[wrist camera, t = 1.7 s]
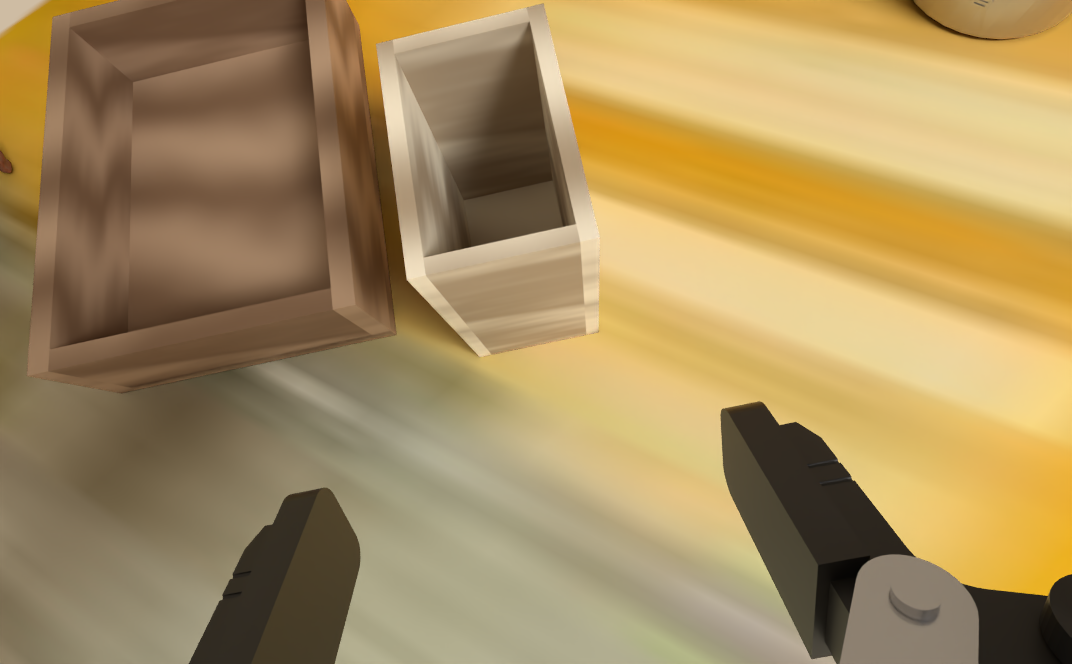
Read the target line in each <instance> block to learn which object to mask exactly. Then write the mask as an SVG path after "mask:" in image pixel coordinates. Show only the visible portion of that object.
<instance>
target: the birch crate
mask: <svg viewBox="0 0 1072 664" xmlns="http://www.w3.org/2000/svg"><path fill="white" fill-rule="evenodd" d="M376 47H377V55H378V63H379V70H380V78H381V86H382V93H383V101H384V109H385V116H386V124H387V132H388V139H389V147H390V155H391V163H392V170H393V178H394V186H395V193H396V201H397V209H398V216H399V224H400V232H401V239H402V247H403V255H404V262H405V270H406V278H407V281H408V282H409V283H410V284H411V285H412V286H413V287H414V288H415V289H416V290H417V291H418V292H419V293H420V294H421V295H422V296H423V297H424V298H425V300H426V301H427V302H428V303H429V304H430V305H431V306H432V307H433V308H434V309H435V310H436V311H437V312H438V313H439V314H440V315H441V316H442V318H443V319H444V320H445V321H446V322H447V323H448V324H449V325H450V326H451V327H452V328H453V329H454V330H455V331H456V332H457V333H458V334H459V335H460V337H461V338H462V339H463V340H464V341H465V342H466V343H467V344H468V345H469V346H470V347H471V348H472V349H473V350H474V351H475V352H476V353H477V355H478V356H479V357H482V356H487V355H492V354H497V353H502V352H506V351H511V350H516V349H521V348H525V347H530V346H535V345H540V344H545V343H549V342H554V341H559V340H564V339H569V338H573V337H578V336H583V335H588V334H592V333H597V332H598V325H599V262H600V236H599V232H598V228H597V224H596V219H595V215H594V211H593V207H592V203H591V199H590V194H589V190H588V186H587V182H586V178H585V174H584V170H583V165H582V161H581V157H580V153H579V149H578V145H577V140H576V136H575V132H574V128H573V124H572V120H571V116H570V111H569V107H568V103H567V99H566V95H565V91H564V86H563V82H562V78H561V74H560V70H559V66H558V62H557V57H556V53H555V49H554V45H553V41H552V37H551V32H550V28H549V24H548V20H547V16H546V12H545V8H544V4H539V5H535V6H531V7H527V8H523V9H519V10H515V11H511V12H506V13H502V14H498V15H494V16H490V17H486V18H482V19H477V20H473V21H469V22H465V23H461V24H457V25H453V26H448V27H444V28H440V29H436V30H432V31H428V32H424V33H419V34H415V35H411V36H407V37H403V38H399V39H395V40H390V41H386V42H382V43H378V44H376Z"/></svg>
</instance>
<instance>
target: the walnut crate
mask: <svg viewBox="0 0 1072 664" xmlns="http://www.w3.org/2000/svg"><path fill="white" fill-rule="evenodd" d="M393 335H396V326H395V318H394V310H393V302H392V293H391V285H390V277H389V269H388V260H387V252H386V244H385V236H384V227H383V219H382V211H381V202H380V194H379V186H378V178H377V169H376V161H375V153H374V145H373V136H372V128H371V120H370V112H369V103H368V95H367V87H366V79H365V70H364V62H363V54H362V46H361V37H360V29H359V24H358V22H357V21H356V19H355V17H354V15H353V13H352V11H351V9H350V7H349V5H348V3H347V1H346V0H118V1H114V2H110V3H106V4H102V5H98V6H94V7H90V8H86V9H83V10H79V11H75V12H71V13H67V14H63V15H59V16H55V17H53V21H52V35H51V49H50V63H49V76H48V90H47V104H46V118H45V132H44V145H43V159H42V173H41V187H40V201H39V214H38V228H37V242H36V256H35V269H34V283H33V297H32V311H31V325H30V338H29V352H28V366H27V376H30V377H35V378H41V379H46V380H52V381H57V382H63V383H68V384H74V385H79V386H84V387H90V388H95V389H101V390H106V391H112V392H117V393H125V392H130V391H134V390H139V389H144V388H148V387H153V386H158V385H162V384H167V383H172V382H177V381H181V380H186V379H191V378H195V377H200V376H205V375H209V374H214V373H219V372H224V371H228V370H233V369H238V368H242V367H247V366H252V365H256V364H261V363H266V362H271V361H275V360H280V359H285V358H289V357H294V356H299V355H303V354H308V353H313V352H318V351H322V350H327V349H332V348H336V347H341V346H346V345H350V344H355V343H360V342H364V341H369V340H374V339H379V338H383V337H388V336H393Z"/></svg>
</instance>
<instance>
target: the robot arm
mask: <svg viewBox="0 0 1072 664" xmlns="http://www.w3.org/2000/svg"><path fill="white" fill-rule="evenodd" d="M913 1H914V2H915V3H916V4H917V5H918V6H919V7H920V8H921V9H922V10H923V11H924V12H925V13H926V14H927V15H928V16H930V17H931V18H933V19H934V20H936V21H937V22H939V23H941V24H942V25H944V26H946V27H949V28H951V29H953V30H956V31H958V32H960V33H964V34H968V35H972V36H976V37H981V38H993V39H1009V38H1021V37H1025V36H1029V35H1033V34H1037V33H1041V32H1043V31H1045V30H1047V29H1049V28H1051V27H1054V26H1056V25H1057V24H1059V23H1060V22H1061V21H1063V20H1064V19H1065V18H1067V17H1068V16H1069V15H1070V14H1071V13H1072V0H913ZM721 433H722V452H723V467H724V473H725V478H726V482H727V485H728V488H729V491H730V494H731V496H732V498H733V500H734V502H735V505H736V507H737V509H738V511H739V513H740V515H741V517H742V519H743V521H744V523H745V525H746V527H747V529H748V531H749V533H750V535H751V537H752V539H753V541H754V543H755V545H756V547H757V549H758V551H759V553H760V555H761V557H762V559H763V561H764V563H765V565H766V567H767V570H768V572H769V574H770V576H771V578H772V580H773V582H774V584H775V586H776V588H777V590H778V592H779V594H780V596H781V598H782V600H783V602H784V604H785V606H786V608H787V610H788V612H789V614H790V616H791V618H792V620H793V622H794V624H795V626H796V628H797V630H798V632H799V634H800V637H801V639H802V641H803V643H804V645H805V647H806V649H807V651H808V653H809V655H810V657H811V659H815V658H821V657H826V656H833V658H834V660H835V662H836V664H1072V574H1071V575H1067V576H1065V577H1063V578H1060V579H1059V580H1058V581H1057V582H1055V583H1054V585H1053V586H1052V588H1051V590H1050V593H1049V595H1048V596H1043V595H1034V594H1025V593H1016V592H1006V591H997V590H988V589H982V588H976V587H972V586H968V585H965V584H962V583H960V582H959V581H958V580H957V579H956V578H955V577H953V576H952V575H951V574H950V573H948V572H947V571H945V570H943V569H942V568H940V567H939V566H937V565H934V564H932V563H930V562H928V561H925V560H922V559H920V558H916V557H915V556H914V555H913V554H912V553H911V552H910V551H909V549H908V548H907V547H906V546H905V545H904V543H903V542H902V541H901V539H900V538H899V537H898V536H897V534H896V533H895V532H894V530H893V529H892V528H891V527H890V525H889V524H888V523H887V521H886V520H885V519H884V518H883V516H882V515H881V514H880V512H879V511H878V510H877V509H876V507H875V506H874V505H873V504H872V502H871V501H870V500H869V498H868V497H867V496H866V495H865V493H864V492H863V491H862V489H861V488H860V487H859V486H858V484H857V483H856V482H855V481H853V480H852V479H851V475H850V474H849V473H848V471H847V470H846V469H845V468H844V466H843V465H842V464H841V463H839V462H838V460H837V457H836V456H835V455H834V454H833V452H832V451H831V450H830V448H829V447H828V446H827V445H826V443H825V442H824V441H823V439H822V438H821V437H819V436H818V435H816V434H814V433H813V432H811V431H810V430H808V429H807V428H805V427H803V426H802V425H800V424H799V423H797V422H794V423H789V424H784V425H779V424H778V423H777V421H776V420H775V418H774V417H773V416H772V414H771V413H770V411H769V410H768V408H767V407H766V406H765V404H763V403H762V402H754V403H749V404H745V405H740V406H735V407H730V408H725V409H722V410H721ZM359 567H360V547H359V542H358V539H357V536H356V534H355V532H354V531H353V529H352V527H351V525H350V523H349V521H348V520H347V518H346V516H345V514H344V512H343V510H342V509H341V507H340V505H339V503H338V501H337V499H336V498H335V496H334V494H333V492H332V491H331V490H330V489H328V488H320V489H315V490H310V491H305V492H300V493H295V494H291V495H288V496H287V497H286V498H285V499H284V501H283V503H282V505H281V507H280V510H279V512H278V514H277V516H276V518H275V521H274V523H273V525H268V526H265V527H264V528H263V529H262V530H261V531H260V532H259V534H258V535H257V536H256V537H255V538H254V539H253V541H252V542H251V543H250V544H249V545H248V546H247V547H246V549H245V550H244V552H243V554H242V556H241V558H240V560H239V562H238V564H237V566H236V568H235V570H234V572H233V579H230V581H229V583H228V585H227V587H226V589H225V591H224V593H223V600H220V601H219V603H218V605H217V607H216V609H215V611H214V613H213V615H212V618H211V620H210V622H209V624H208V626H207V628H206V630H205V632H204V634H203V636H202V638H201V640H200V642H199V644H198V646H197V648H196V650H195V652H194V654H193V656H192V658H191V661H190V663H189V664H335V660H336V656H337V652H338V648H339V644H340V641H341V637H342V633H343V629H344V625H345V621H346V617H347V614H348V610H349V606H350V602H351V598H352V594H353V591H354V587H355V583H356V579H357V575H358V571H359Z"/></svg>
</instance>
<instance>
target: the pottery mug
mask: <svg viewBox="0 0 1072 664" xmlns="http://www.w3.org/2000/svg"><path fill="white" fill-rule="evenodd" d="M0 171H2V172H4V173H11V171H12V167H11V163H10V162H9V161H8V160H7V159H6V158H5V157H4V155H3V154H2V152H1V151H0Z"/></svg>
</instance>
